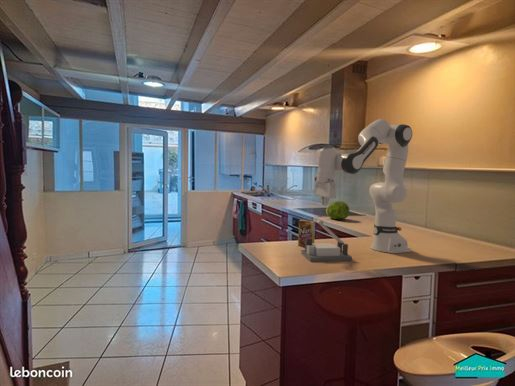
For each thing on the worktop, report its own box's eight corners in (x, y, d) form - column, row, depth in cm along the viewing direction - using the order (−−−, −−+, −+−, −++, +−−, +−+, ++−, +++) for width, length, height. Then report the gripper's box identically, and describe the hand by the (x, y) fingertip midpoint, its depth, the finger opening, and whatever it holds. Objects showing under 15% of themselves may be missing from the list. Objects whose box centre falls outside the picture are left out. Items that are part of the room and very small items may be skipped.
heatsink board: (339, 253, 175) (340, 236, 174) (351, 260, 161) (352, 242, 160) (301, 253, 171) (302, 237, 170) (310, 261, 157) (311, 243, 156)
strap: (339, 242, 169) (341, 240, 169) (342, 244, 165) (345, 242, 165) (315, 221, 165) (318, 218, 166) (318, 222, 161) (320, 220, 162)
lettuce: (335, 217, 308) (331, 200, 308) (354, 217, 289) (350, 198, 288) (322, 222, 299) (319, 204, 298) (341, 222, 279) (337, 203, 278)
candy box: (297, 245, 189) (298, 220, 187) (300, 244, 192) (301, 219, 191) (311, 248, 184) (312, 222, 182) (314, 246, 187) (315, 221, 186)
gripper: (340, 179, 153) (338, 208, 154) (324, 178, 173) (323, 203, 174) (327, 179, 152) (326, 208, 153) (313, 177, 172) (312, 203, 173)
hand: (324, 205), depth 163 cm, fingers closed
